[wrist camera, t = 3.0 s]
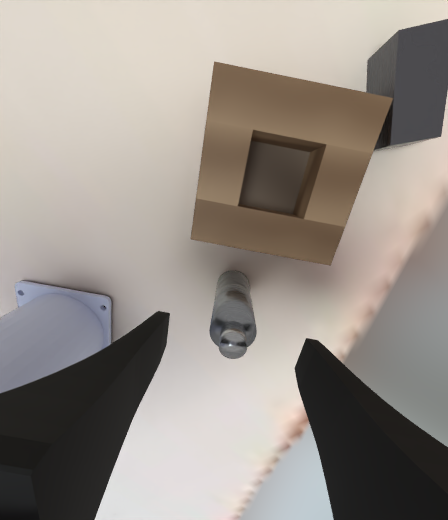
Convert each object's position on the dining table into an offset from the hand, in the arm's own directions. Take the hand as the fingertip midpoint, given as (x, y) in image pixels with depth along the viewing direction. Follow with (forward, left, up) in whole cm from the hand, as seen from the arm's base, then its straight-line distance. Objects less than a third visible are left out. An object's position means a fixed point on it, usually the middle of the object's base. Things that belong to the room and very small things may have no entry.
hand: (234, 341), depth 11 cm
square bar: (+14, -7, -7) cm, 17 cm away
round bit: (0, 0, -7) cm, 7 cm away
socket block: (+8, -1, -7) cm, 11 cm away
